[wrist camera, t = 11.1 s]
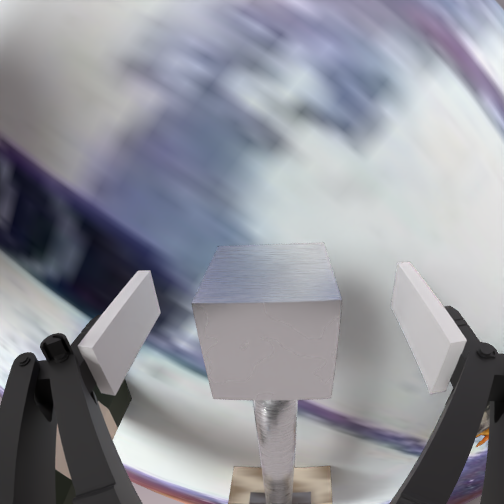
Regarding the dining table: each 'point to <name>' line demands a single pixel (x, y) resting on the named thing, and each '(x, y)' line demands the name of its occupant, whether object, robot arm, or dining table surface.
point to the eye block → (304, 486)
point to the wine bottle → (112, 415)
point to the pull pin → (270, 341)
